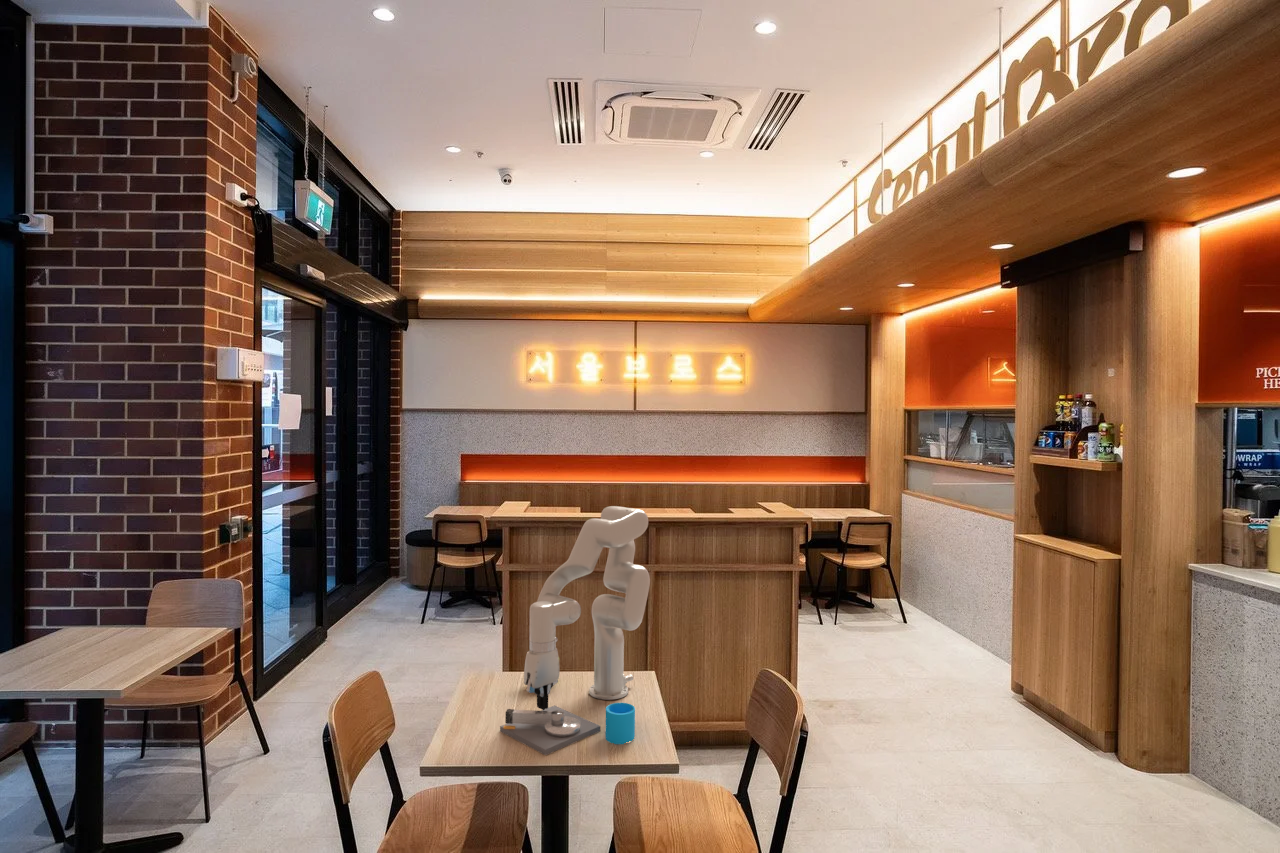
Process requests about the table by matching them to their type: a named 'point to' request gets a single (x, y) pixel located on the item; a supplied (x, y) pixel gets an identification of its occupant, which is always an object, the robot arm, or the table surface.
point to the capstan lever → (546, 721)
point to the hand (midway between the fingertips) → (542, 707)
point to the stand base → (541, 740)
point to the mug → (620, 723)
